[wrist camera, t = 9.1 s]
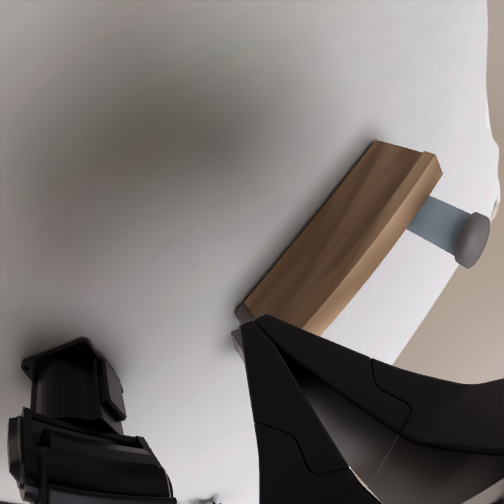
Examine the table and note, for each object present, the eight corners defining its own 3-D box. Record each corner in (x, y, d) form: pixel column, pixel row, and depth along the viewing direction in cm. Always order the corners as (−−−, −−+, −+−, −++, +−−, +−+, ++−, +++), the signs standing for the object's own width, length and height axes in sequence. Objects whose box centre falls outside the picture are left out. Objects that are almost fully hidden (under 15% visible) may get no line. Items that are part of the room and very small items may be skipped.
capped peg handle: (354, 216, 25) (459, 276, 17) (353, 175, 23) (470, 226, 15) (383, 204, 26) (483, 256, 18) (383, 166, 24) (493, 210, 16)
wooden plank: (230, 314, 24) (265, 368, 19) (374, 137, 22) (435, 154, 17) (247, 323, 25) (283, 374, 20) (384, 154, 23) (442, 173, 19)
